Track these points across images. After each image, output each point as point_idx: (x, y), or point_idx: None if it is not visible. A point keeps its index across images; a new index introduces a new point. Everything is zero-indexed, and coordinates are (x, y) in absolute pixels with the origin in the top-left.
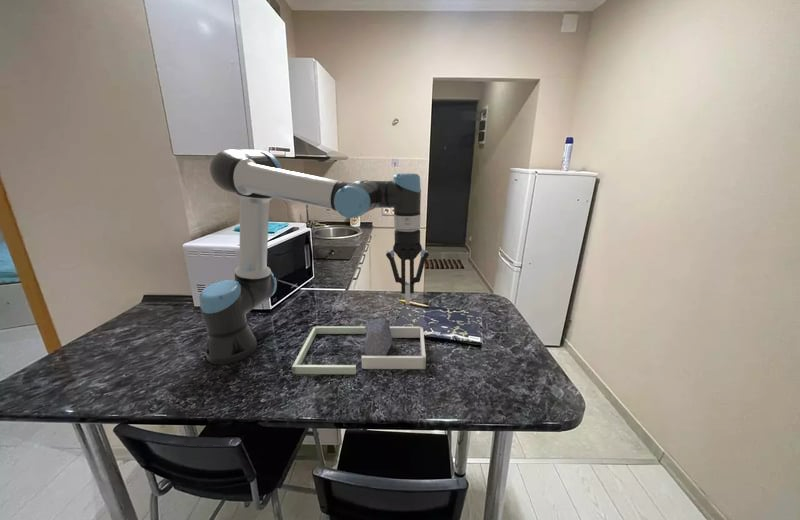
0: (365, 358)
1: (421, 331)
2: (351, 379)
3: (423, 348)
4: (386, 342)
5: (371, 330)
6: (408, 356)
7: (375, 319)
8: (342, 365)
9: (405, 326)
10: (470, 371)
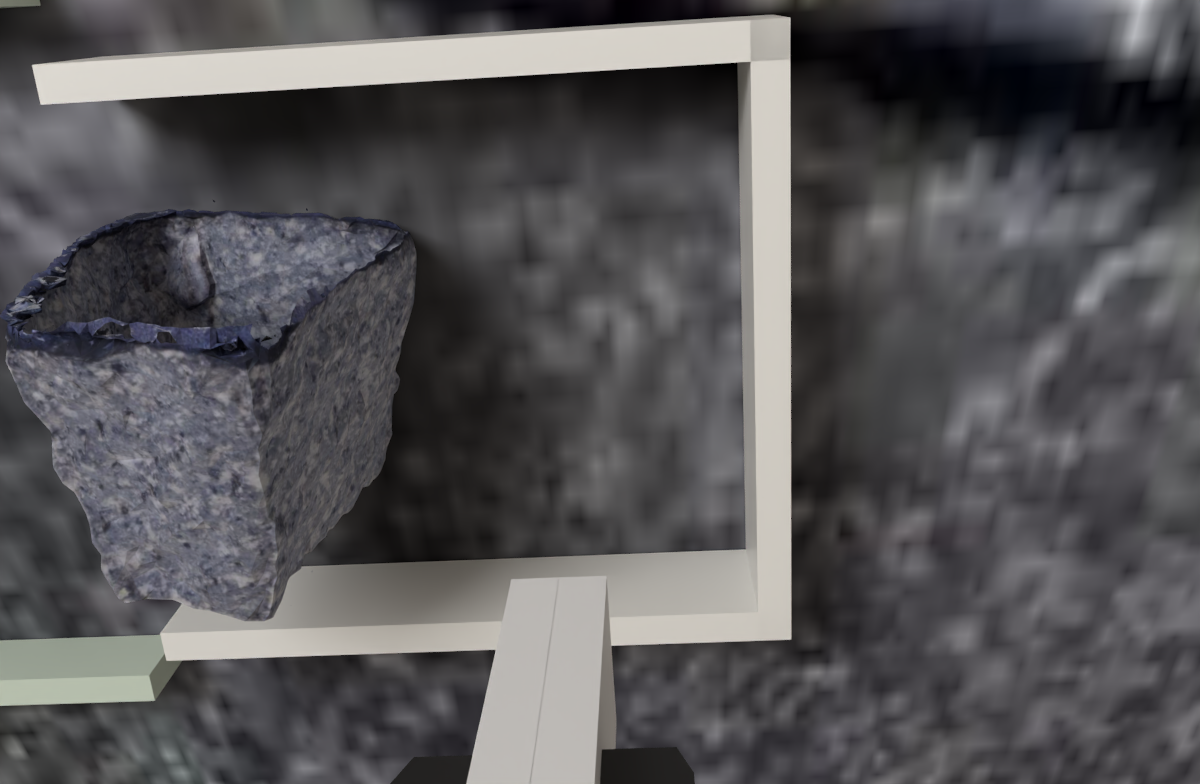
0: (208, 655)
1: (766, 152)
2: (170, 710)
3: (775, 497)
4: (356, 437)
5: (130, 566)
6: (618, 626)
7: (98, 378)
8: (33, 682)
9: (544, 34)
10: (1177, 583)
